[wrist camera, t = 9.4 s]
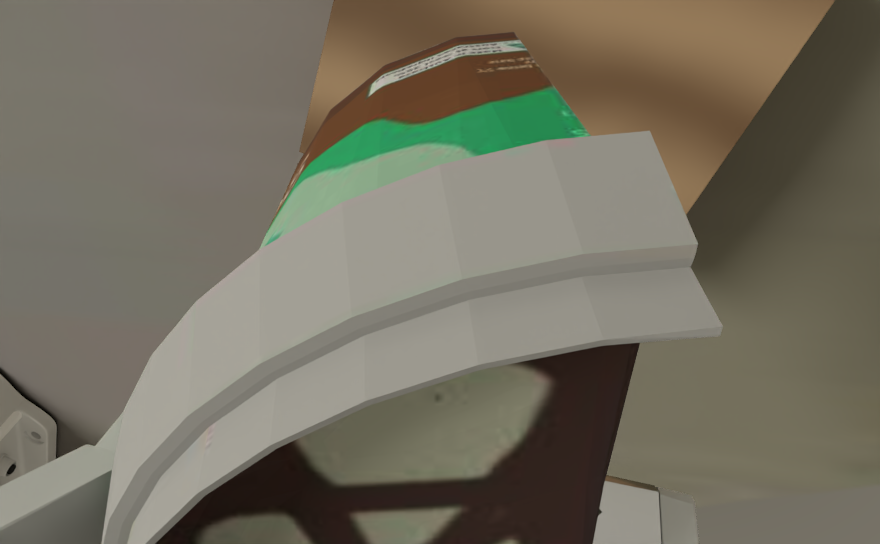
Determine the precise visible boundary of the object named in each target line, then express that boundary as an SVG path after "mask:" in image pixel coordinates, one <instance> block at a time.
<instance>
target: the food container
mask: <svg viewBox="0 0 880 544" xmlns="http://www.w3.org/2000/svg"><path fill="white" fill-rule="evenodd" d="M697 247H698V242H697V240H696V238H695V235H694V233H693V231H692V228H691V226H690V224H689V221H688V219H687V217H686V214H685V212H684V210H683V207H682V205H681V203H680V200H679V198H678V196H677V193H676V191H675V188H674V186H673V184H672V181H671V179H670V177H669V174H668V172H667V170H666V167H665V165H664V163H663V160H662V158H661V156H660V153H659V151H658V149H657V146H656V144H655V142H654V139H653V137H652V135H651V132H650V131H642V132H631V133H620V134H609V135H598V136H591V135H590V134H589V133H588V131H587V130H586V128H585V127H584V126H583V124H582V123H581V122H580V120H579V119H578V118H577V116H576V115H575V114H574V112H573V111H572V110H571V108H570V107H569V106H568V104H567V103H566V101H565V100H564V99H563V97H562V96H561V95H560V93H559V92H558V91H557V89H556V88H555V87H554V85H553V84H552V83H551V81H550V80H549V78H548V77H547V76H546V74H545V73H544V72H543V70H542V69H541V68H540V66H539V65H538V64H537V62H536V61H535V60H534V58H533V57H532V56H531V54H530V53H529V51H528V50H527V49H526V47H525V46H524V45H523V43H522V42H521V41H520V39H519V38H518V37H517V35H516V34H515V33H514V32H506V33H496V34H485V35H474V36H464V37H455V38H453V39H450V40H448V41H445V42H443V43H440V44H437V45H435V46H432V47H430V48H427V49H425V50H422V51H419V52H417V53H414V54H412V55H409V56H407V57H404V58H401V59H399V60H396V61H394V62H391V63H389V64H386V65H384V66H383V67H382V68H381V69H379V70H378V71H377V72H376V73H374V74H373V75H372V76H371V77H370V78H368V79H367V80H366V81H365V82H364V83H362V84H361V85H360V86H359V87H357V88H356V89H355V90H354V91H353V92H351V93H350V94H349V95H348V96H346V97H345V98H344V99H343V100H342V101H340V102H339V103H338V104H337V105H336V106H334V107H333V108H332V109H331V110H330V111H329V113H328V115H327V116H326V118H325V120H324V121H323V123H322V125H321V126H320V128H319V130H318V131H317V133H316V135H315V136H314V138H313V140H312V141H311V143H310V145H309V146H308V148H307V150H306V151H305V153H304V155H303V156H302V158H301V160H300V161H299V163H298V165H297V168H296V170H295V172H294V174H293V176H292V179H291V181H290V183H289V185H288V187H287V190H286V192H285V194H284V196H283V198H282V201H281V203H280V205H279V207H278V209H277V212H276V214H275V216H274V218H273V220H272V223H271V225H270V227H269V229H268V231H267V234H266V236H265V238H264V240H263V242H262V245H261V247H260V249H259V250H258V251H257V252H256V253H255V254H253V255H252V256H251V257H250V258H248V259H247V260H246V261H245V262H244V263H242V264H241V265H240V266H239V267H237V268H236V269H235V270H234V271H233V272H231V273H230V274H229V275H228V276H226V277H225V278H224V279H223V280H222V281H220V282H219V283H218V284H217V285H215V286H214V287H213V288H212V289H211V290H209V291H208V292H207V293H206V294H205V295H203V296H202V297H201V298H200V299H198V300H197V301H196V302H195V303H194V305H193V306H192V307H191V308H190V309H189V311H188V312H187V313H186V314H185V315H184V317H183V318H182V319H181V320H180V321H179V323H178V324H177V325H176V326H175V328H174V329H173V330H172V331H171V332H170V334H169V335H168V336H167V337H166V338H165V340H164V341H163V342H162V343H161V344H160V346H159V347H158V348H157V349H156V350H155V352H154V353H153V354H152V355H151V357H150V359H149V361H148V363H147V365H146V367H145V369H144V371H143V373H142V375H141V377H140V379H139V381H138V383H137V385H136V387H135V389H134V391H133V393H132V395H131V397H130V399H129V401H128V403H127V405H126V407H125V409H124V414H123V418H122V423H121V428H120V432H119V437H118V442H117V446H116V451H115V456H114V461H113V468H112V474H111V481H110V488H109V495H108V501H107V508H106V515H105V522H104V529H103V535H102V542H101V544H593V539H594V534H595V529H596V523H597V518H598V513H599V508H600V502H601V497H602V492H603V486H604V482H605V478H606V474H607V470H608V466H609V462H610V458H611V454H612V450H613V446H614V442H615V439H616V435H617V431H618V427H619V423H620V419H621V415H622V411H623V407H624V403H625V399H626V395H627V391H628V387H629V383H630V379H631V375H632V371H633V367H634V363H635V359H636V356H637V352H638V348H639V344H640V343H642V342H654V341H666V340H678V339H690V338H702V337H714V336H720V334H721V331H722V328H723V326H722V324H721V322H720V321H719V319H718V317H717V315H716V313H715V311H714V309H713V308H712V306H711V304H710V302H709V300H708V298H707V297H706V295H705V293H704V291H703V289H702V287H701V286H700V284H699V282H698V280H697V278H696V276H695V275H694V273H693V271H692V269H691V265H692V262H693V260H694V258H695V254H696V250H697Z"/></svg>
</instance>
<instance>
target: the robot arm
mask: <svg viewBox="0 0 880 544" xmlns="http://www.w3.org/2000/svg"><path fill="white" fill-rule="evenodd" d="M123 414H124V412H123V413H122V414H121V415H120V416H119V418H118V419H117V420H116V421H115V422H114V424H113V425H112V426H111V427H110V429H109V430H108V431H107V432H106V433H105V435H104V436H103V437H102V438H101V439H100V441H99V442H98V443H97V444H96V445H95V446H93V445H88V444H86V445H84V446H82V447H80V448H78V449H76V450H74V451H72V452H69V453H67V454H65V455H63V456H61V457H59V458H57V459H56V435H57V426H56V423H55V421H54V420H53V419H52V418H51V417H50V416H49V415H48V414H47V413H45V412H44V411H43V410H41V409H40V408H38V407H37V406H36V405H34V404H33V403H31V402H30V401H28V400H27V399H25V398H24V397H23V396H22V395H21V394H20V393H18V392H17V391H16V390H15V389H14V387H13V386H12V385H11V384H10V383H9V382H8V381H7V380H6V379H5V378H4V377H3V376H2V375H1V374H0V544H101V542H102V535H103V529H104V522H105V515H106V508H107V501H108V495H109V488H110V481H111V474H112V468H113V461H114V456H115V451H116V446H117V442H118V437H119V432H120V428H121V423H122V418H123ZM593 544H699V534H698V525H697V516H696V507H695V501H694V499H693V497H692V496H691V495H689V494H685V493H681V492H677V491H672V490H668V489H664V488H659V487H655V486H654V485H650V484H645V483H640V482H636V481H631V480H627V479H622V478H618V477H613V476H609V475H606V478H605V482H604V486H603V492H602V497H601V502H600V508H599V513H598V518H597V523H596V529H595V534H594V539H593Z"/></svg>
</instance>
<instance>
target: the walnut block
mask: <svg viewBox="0 0 880 544" xmlns="http://www.w3.org/2000/svg"><path fill="white" fill-rule="evenodd" d="M834 1H835V0H334V2H333V6H332V10H331V15H330V19H329V24H328V28H327V32H326V37H325V41H324V46H323V50H322V54H321V59H320V63H319V67H318V72H317V76H316V81H315V85H314V89H313V94H312V98H311V103H310V107H309V111H308V116H307V120H306V124H305V129H304V133H303V138H302V142H301V146H300V151H299V152H301V153H305V151H306V150H307V148H308V146H309V145H310V143H311V141H312V140H313V138H314V136H315V135H316V133H317V131H318V130H319V128H320V126H321V125H322V123H323V121H324V120H325V118H326V116H327V115H328V113H329V111H330V110H331V109H332V108H333V107H334V106H336V105H337V104H338V103H339V102H340V101H342V100H343V99H344V98H345V97H346V96H348V95H349V94H350V93H351V92H353V91H354V90H355V89H356V88H357V87H359V86H360V85H361V84H362V83H364V82H365V81H366V80H367V79H368V78H370V77H371V76H372V75H373V74H374V73H376V72H377V71H378V70H379V69H381V68H382V67H383V66H384V65H386V64H389V63H391V62H394V61H396V60H399V59H401V58H404V57H407V56H409V55H412V54H414V53H417V52H419V51H422V50H425V49H427V48H430V47H432V46H435V45H437V44H440V43H443V42H445V41H448V40H450V39H453V38H455V37H464V36H474V35H485V34H496V33H506V32H514V33H515V34H516V35H517V37H518V38H519V39H520V41H521V42H522V43H523V45H524V46H525V47H526V49H527V50H528V51H529V53H530V54H531V56H532V57H533V58H534V60H535V61H536V62H537V64H538V65H539V66H540V68H541V69H542V70H543V72H544V73H545V74H546V76H547V77H548V78H549V80H550V81H551V83H552V84H553V85H554V87H555V88H556V89H557V91H558V92H559V93H560V95H561V96H562V97H563V99H564V100H565V101H566V103H567V104H568V106H569V107H570V108H571V110H572V111H573V112H574V114H575V115H576V116H577V118H578V119H579V120H580V122H581V123H582V124H583V126H584V127H585V128H586V130H587V131H588V133H589V134H590V135H591V136H598V135H609V134H620V133H631V132H642V131H650V132H651V135H652V137H653V139H654V142H655V144H656V146H657V149H658V151H659V153H660V156H661V158H662V160H663V163H664V165H665V167H666V170H667V172H668V174H669V177H670V179H671V181H672V184H673V186H674V188H675V191H676V193H677V196H678V198H679V200H680V203H681V205H682V207H683V210H684V212H685V214H687V213H688V211H689V210H690V208H691V207H692V206H693V204H694V203H695V201H696V200H697V198H698V197H699V196H700V194H701V193H702V191H703V190H704V188H705V187H706V185H707V184H708V183H709V181H710V180H711V178H712V177H713V175H714V174H715V173H716V171H717V170H718V168H719V167H720V165H721V164H722V162H723V161H724V160H725V158H726V157H727V155H728V154H729V152H730V151H731V149H732V148H733V147H734V145H735V144H736V142H737V141H738V139H739V138H740V137H741V135H742V134H743V132H744V131H745V129H746V128H747V126H748V125H749V124H750V122H751V121H752V119H753V118H754V116H755V115H756V114H757V112H758V111H759V109H760V108H761V106H762V105H763V103H764V102H765V101H766V99H767V98H768V96H769V95H770V93H771V92H772V90H773V89H774V88H775V86H776V85H777V83H778V82H779V80H780V79H781V78H782V76H783V75H784V73H785V72H786V70H787V69H788V67H789V66H790V65H791V63H792V62H793V60H794V59H795V57H796V56H797V54H798V53H799V52H800V50H801V49H802V47H803V46H804V44H805V43H806V42H807V40H808V39H809V37H810V36H811V34H812V33H813V31H814V30H815V29H816V27H817V26H818V24H819V23H820V21H821V20H822V19H823V17H824V16H825V14H826V13H827V11H828V10H829V8H830V7H831V6H832V4H833V3H834Z"/></svg>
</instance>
